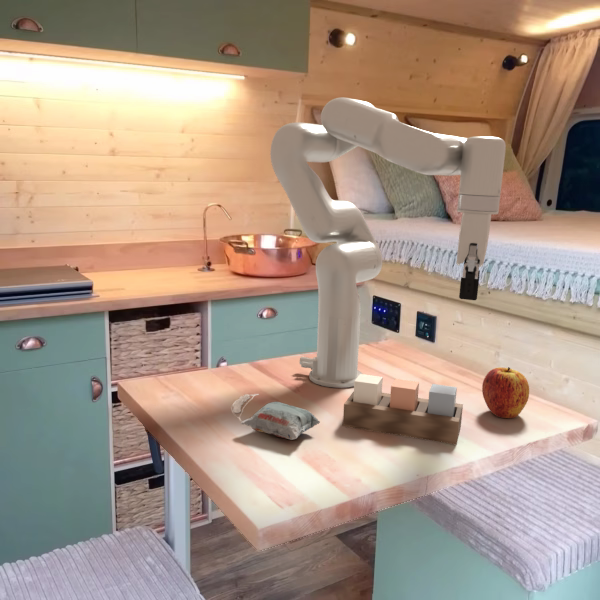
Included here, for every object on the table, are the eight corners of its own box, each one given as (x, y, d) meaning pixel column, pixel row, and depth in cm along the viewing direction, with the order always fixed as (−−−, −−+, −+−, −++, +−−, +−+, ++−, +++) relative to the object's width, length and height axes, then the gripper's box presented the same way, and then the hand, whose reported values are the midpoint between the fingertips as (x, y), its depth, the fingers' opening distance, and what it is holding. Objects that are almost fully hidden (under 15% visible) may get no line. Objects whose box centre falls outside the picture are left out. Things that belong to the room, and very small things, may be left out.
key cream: (353, 405, 117) (354, 381, 116) (358, 398, 121) (360, 373, 120) (376, 409, 116) (377, 384, 115) (381, 401, 120) (382, 377, 119)
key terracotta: (389, 411, 115) (391, 386, 114) (393, 403, 119) (395, 378, 118) (413, 415, 114) (415, 389, 112) (417, 406, 118) (419, 382, 117)
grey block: (427, 417, 113) (429, 391, 112) (430, 408, 117) (432, 383, 116) (452, 421, 111) (454, 395, 110) (454, 412, 115) (456, 387, 114)
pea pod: (242, 394, 132) (242, 387, 132) (262, 396, 131) (262, 389, 131) (219, 422, 118) (219, 414, 117) (241, 424, 117) (241, 416, 117)
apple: (470, 409, 127) (474, 362, 125) (504, 403, 130) (509, 358, 128) (500, 426, 119) (506, 377, 116) (536, 420, 122) (542, 372, 120)
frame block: (342, 426, 116) (343, 404, 115) (354, 409, 125) (355, 388, 124) (456, 445, 110) (458, 421, 109) (460, 426, 118) (462, 404, 117)
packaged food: (296, 450, 105) (298, 423, 104) (239, 432, 111) (240, 407, 110) (320, 433, 113) (321, 407, 112) (265, 417, 118) (266, 393, 117)
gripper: (459, 201, 124) (451, 284, 128) (455, 206, 108) (445, 301, 112) (498, 203, 122) (488, 288, 126) (499, 209, 106) (488, 305, 110)
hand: (468, 294), depth 119 cm, fingers open, 9 cm apart
